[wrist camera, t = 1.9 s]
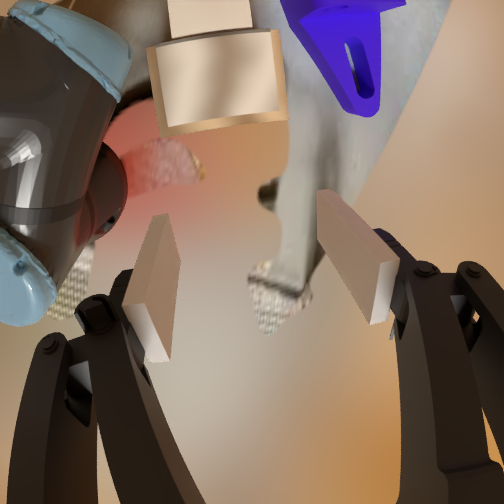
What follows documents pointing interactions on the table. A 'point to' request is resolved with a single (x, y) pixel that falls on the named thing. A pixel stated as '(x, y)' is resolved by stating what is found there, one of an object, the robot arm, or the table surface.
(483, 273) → the robot arm
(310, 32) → the bracket
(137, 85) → the table surface
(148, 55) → the clamp block
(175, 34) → the cream and orange panel
